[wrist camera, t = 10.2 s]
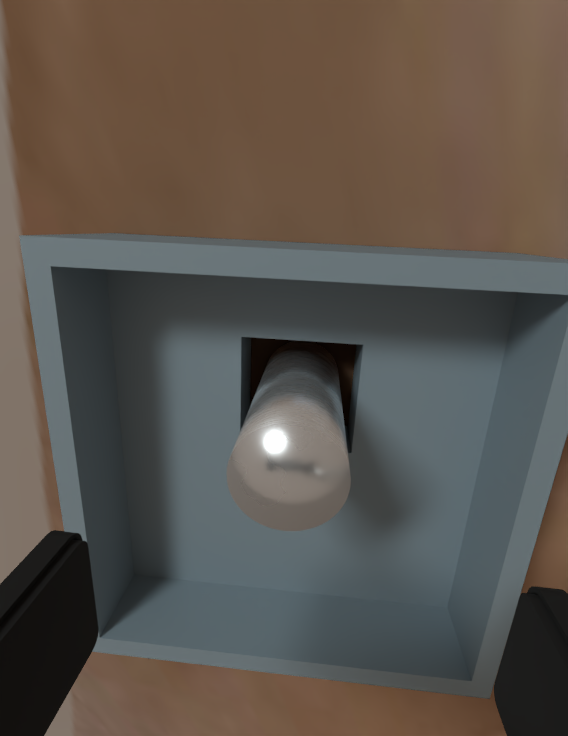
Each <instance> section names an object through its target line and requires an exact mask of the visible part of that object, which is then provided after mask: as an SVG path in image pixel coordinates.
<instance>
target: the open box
mask: <svg viewBox="0 0 568 736" xmlns="http://www.w3.org/2000/svg"><path fill="white" fill-rule="evenodd" d="M19 237H20V244H21V250H22V257H23V263H24V270H25V276H26V283H27V289H28V296H29V303H30V309H31V316H32V322H33V329H34V335H35V342H36V348H37V355H38V362H39V368H40V375H41V381H42V388H43V394H44V401H45V407H46V414H47V421H48V427H49V434H50V440H51V447H52V453H53V460H54V466H55V473H56V480H57V486H58V493H59V499H60V506H61V512H62V519H63V525H64V532H72V533H79V534H80V535H81V536H82V540H83V541H86V542H87V543H88V548H89V556H90V564H91V572H92V580H93V588H94V596H95V604H96V612H97V620H98V627H99V633H98V638H97V642H96V644H95V647H94V649H93V651H92V652H101V653H109V654H117V655H126V656H134V657H143V658H151V659H159V660H168V661H176V662H184V663H193V664H201V665H210V666H218V667H226V668H235V669H243V670H252V671H260V672H268V673H277V674H285V675H293V676H302V677H310V678H319V679H327V680H335V681H344V682H352V683H361V684H369V685H377V686H386V687H394V688H402V689H411V690H419V691H428V692H436V693H444V694H453V695H461V696H469V697H478V698H486V699H490V696H491V692H492V689H493V685H494V682H495V679H496V675H497V672H498V668H499V665H500V662H501V658H502V655H503V651H504V648H505V645H506V641H507V638H508V634H509V631H510V627H511V624H512V621H513V617H514V614H515V610H516V607H517V604H518V600H519V597H520V593H521V590H522V587H523V583H524V580H525V576H526V573H527V570H528V566H529V563H530V559H531V556H532V553H533V549H534V546H535V542H536V539H537V536H538V532H539V529H540V525H541V522H542V519H543V515H544V512H545V508H546V505H547V502H548V498H549V495H550V491H551V488H552V485H553V481H554V478H555V474H556V471H557V468H558V464H559V461H560V457H561V454H562V451H563V447H564V444H565V440H566V437H567V434H568V260H567V259H560V258H552V257H544V256H536V255H528V254H520V253H501V252H481V251H461V250H440V249H420V248H400V247H380V246H359V245H339V244H319V243H298V242H278V241H258V240H238V239H217V238H197V237H177V236H156V235H136V234H116V233H108V234H65V235H22V236H19ZM251 337H252V338H267V339H283V340H298V341H313V342H329V343H344V344H356V353H355V363H354V373H353V382H352V392H351V401H350V411H349V421H348V426H345V434H346V442H347V450H348V459H349V467H350V476H351V486H350V491H349V494H348V497H347V500H346V502H345V503H344V505H343V507H342V508H341V509H340V511H339V512H338V513H337V514H336V515H335V516H334V517H332V518H331V519H330V520H329V521H327V522H325V523H323V524H322V525H319V526H317V527H314V528H311V529H308V530H302V531H282V530H276V529H272V528H269V527H266V526H264V525H261V524H259V523H258V522H256V521H254V520H253V519H251V518H250V517H248V516H247V515H246V514H245V513H244V512H243V511H242V510H241V509H240V508H239V507H238V506H237V504H236V503H235V501H234V500H233V498H232V496H231V494H230V491H229V488H228V484H227V475H226V474H227V465H228V461H229V458H230V456H231V453H232V451H233V448H234V446H235V443H236V441H237V438H238V436H239V433H240V431H241V428H242V426H243V423H244V421H245V418H246V416H247V413H248V411H249V408H250V384H251Z"/></svg>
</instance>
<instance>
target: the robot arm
mask: <svg viewBox="0 0 568 736" xmlns="http://www.w3.org/2000/svg"><path fill="white" fill-rule="evenodd" d="M98 633H99V627H98V620H97V612H96V604H95V596H94V588H93V580H92V572H91V564H90V556H89V548H88V543H87V542H86V541H83V540H82V536H81V535H80V534H79V533H72V532H64V531H55V530H54V531H51V532H50V533H48V534H47V535H46V536H45V537H44V539H42V540H41V542H40V543H39V544H38V545H37V546H36V547H35V548H34V549H33V550H32V551H31V552H30V553H29V554H28V555H27V557H25V559H24V560H23V561H22V562H21V563H20V564H19V565H18V566H17V567H16V568H15V569H14V570H13V571H12V572H11V573H10V575H9V576H8V577H7V578H6V579H5V580H4V581H3V582H2V583H1V584H0V736H44V735H45V733H46V731H47V729H48V728H49V726H50V724H51V722H52V721H53V719H54V717H55V715H56V714H57V712H58V710H59V708H60V706H61V705H62V703H63V701H64V700H65V698H66V696H67V694H68V693H69V691H70V689H71V687H72V686H73V684H74V682H75V680H76V679H77V677H78V675H79V673H80V672H81V670H82V668H83V666H84V665H85V663H86V661H87V659H88V658H89V656H90V654H91V652H92V651H93V649H94V647H95V644H96V642H97V638H98ZM494 695H495V701H496V705H497V708H498V711H499V714H500V717H501V720H502V723H503V725H504V728H505V731H506V734H507V736H568V594H567V593H566V592H565V591H563V590H560V589H551V588H543V587H531V588H529V590H528V592H527V593H522V594H521V595H520V597H519V600H518V604H517V607H516V611H515V614H514V618H513V621H512V625H511V628H510V632H509V635H508V638H507V642H506V645H505V649H504V652H503V656H502V659H501V663H500V666H499V670H498V673H497V677H496V680H495V685H494Z"/></svg>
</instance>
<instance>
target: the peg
mask: <svg viewBox="0 0 568 736" xmlns="http://www.w3.org/2000/svg"><path fill="white" fill-rule="evenodd" d="M226 475H227V484H228V488H229V491H230V494H231V496H232V498H233V500H234V501H235V503H236V504H237V506H238V507H239V508H240V509H241V510H242V511H243V512H244V513H245V514H246V515H247V516H248V517H250V518H251V519H253V520H254V521H256V522H258V523H259V524H261V525H264V526H266V527H269V528H272V529H276V530H282V531H302V530H308V529H311V528H314V527H317V526H319V525H322V524H323V523H325V522H327V521H329V520H330V519H331V518H332V517H334V516H335V515H336V514H337V513H338V512H339V511H340V509H341V508H342V507H343V505H344V503H345V502H346V500H347V497H348V494H349V491H350V486H351V476H350V467H349V459H348V450H347V442H346V434H345V425H344V417H343V408H342V400H341V391H340V383H339V374H338V368H337V364H336V362H335V360H334V358H333V356H332V355H331V354H330V353H329V352H328V351H327V350H326V349H325V348H324V347H322V346H320V345H319V344H316V343H314V342H310V341H293V342H289V343H287V344H284V345H283V346H281V347H279V348H278V349H277V350H276V351H275V352H274V353H273V354H272V356H271V357H270V359H269V361H268V363H267V366H266V368H265V371H264V373H263V376H262V378H261V381H260V383H259V386H258V388H257V391H256V393H255V396H254V398H253V401H252V403H251V406H250V408H249V411H248V413H247V416H246V418H245V421H244V423H243V426H242V428H241V431H240V433H239V436H238V438H237V441H236V443H235V446H234V448H233V451H232V453H231V456H230V458H229V461H228V465H227V474H226Z"/></svg>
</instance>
